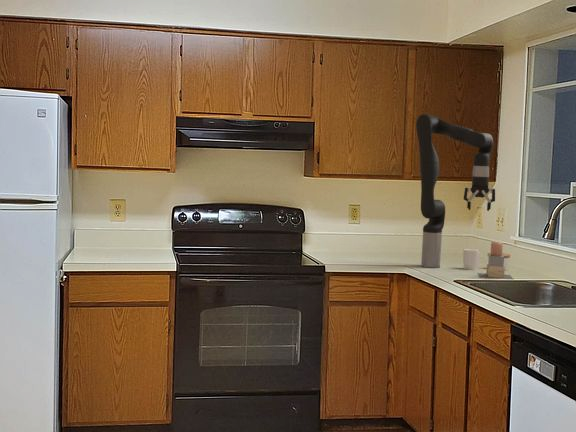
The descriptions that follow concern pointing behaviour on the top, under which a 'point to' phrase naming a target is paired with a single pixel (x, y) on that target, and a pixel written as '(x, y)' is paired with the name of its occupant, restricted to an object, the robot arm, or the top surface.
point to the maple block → (495, 271)
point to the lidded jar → (506, 259)
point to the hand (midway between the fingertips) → (478, 210)
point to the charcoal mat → (483, 275)
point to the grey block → (496, 260)
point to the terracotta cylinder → (496, 248)
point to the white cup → (471, 259)
